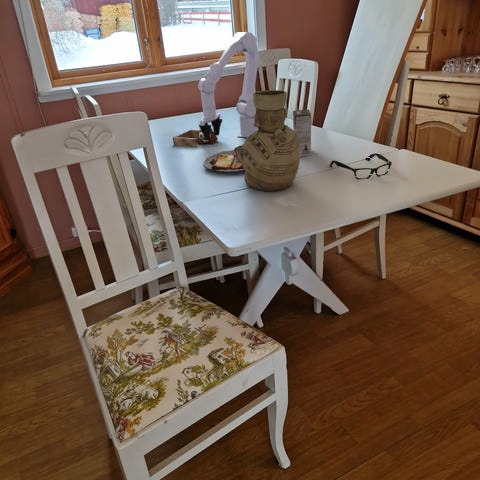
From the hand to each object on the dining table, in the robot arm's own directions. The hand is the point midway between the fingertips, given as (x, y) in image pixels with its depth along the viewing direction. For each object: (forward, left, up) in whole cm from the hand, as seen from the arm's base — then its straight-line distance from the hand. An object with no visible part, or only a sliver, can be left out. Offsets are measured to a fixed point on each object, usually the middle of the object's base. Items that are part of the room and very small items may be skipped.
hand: (212, 137), depth 192 cm
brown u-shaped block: (+10, 0, -2) cm, 11 cm away
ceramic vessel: (-49, +41, -3) cm, 64 cm away
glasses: (-72, +19, -3) cm, 75 cm away
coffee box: (-46, +5, -3) cm, 46 cm away
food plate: (-26, +25, -3) cm, 36 cm away
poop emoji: (+3, 0, -3) cm, 4 cm away
